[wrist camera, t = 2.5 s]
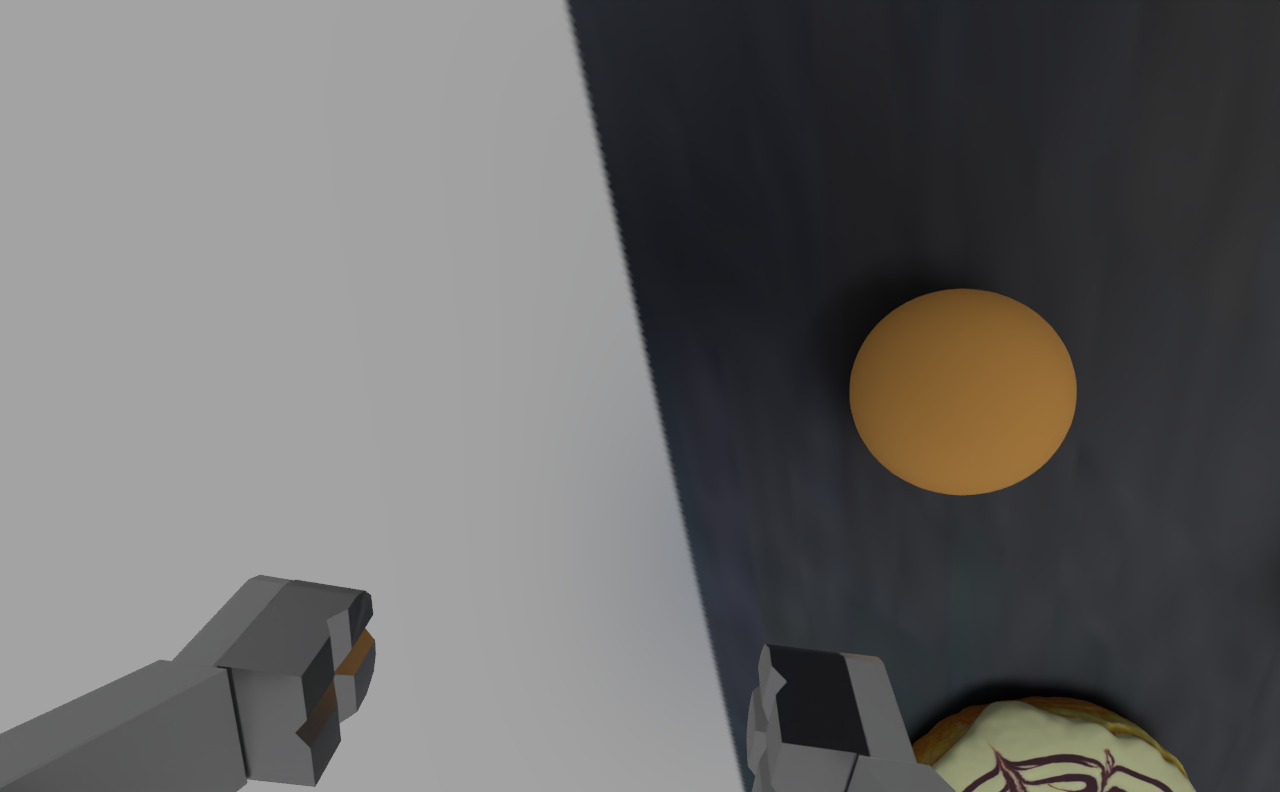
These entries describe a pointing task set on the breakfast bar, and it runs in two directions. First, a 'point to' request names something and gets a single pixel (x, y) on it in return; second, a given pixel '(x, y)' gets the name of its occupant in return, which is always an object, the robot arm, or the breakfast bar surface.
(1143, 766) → the decorated donut
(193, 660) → the robot arm
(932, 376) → the ball
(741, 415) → the breakfast bar surface
